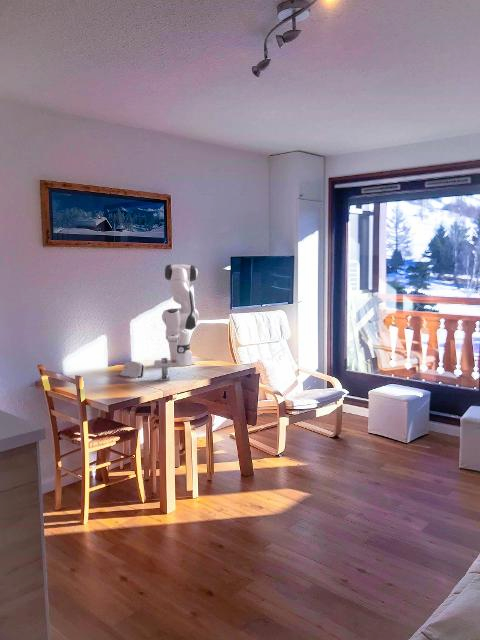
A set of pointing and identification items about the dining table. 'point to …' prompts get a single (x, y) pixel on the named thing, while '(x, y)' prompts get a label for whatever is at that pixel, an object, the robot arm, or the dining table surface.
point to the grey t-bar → (165, 367)
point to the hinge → (133, 369)
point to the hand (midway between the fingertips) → (173, 358)
